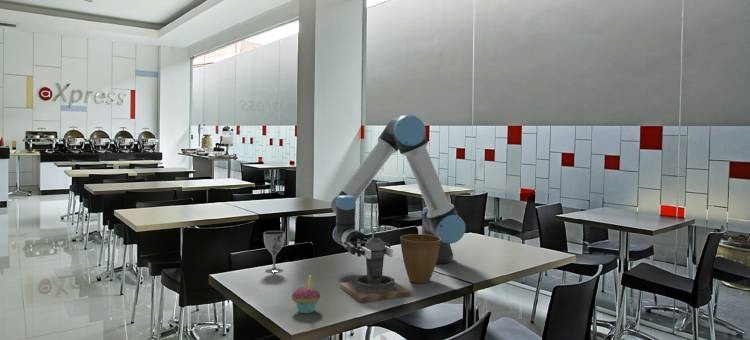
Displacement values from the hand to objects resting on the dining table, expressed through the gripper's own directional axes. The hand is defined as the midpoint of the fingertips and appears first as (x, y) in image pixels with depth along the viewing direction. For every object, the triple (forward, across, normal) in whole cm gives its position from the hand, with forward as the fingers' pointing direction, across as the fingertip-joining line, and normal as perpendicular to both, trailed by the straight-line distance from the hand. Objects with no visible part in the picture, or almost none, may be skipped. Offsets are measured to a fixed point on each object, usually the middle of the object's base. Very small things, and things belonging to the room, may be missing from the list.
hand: (380, 253), depth 172 cm
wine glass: (-45, +25, -14) cm, 53 cm away
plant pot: (-11, -21, -14) cm, 28 cm away
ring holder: (-5, 0, -14) cm, 15 cm away
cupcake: (+5, +27, -14) cm, 31 cm away
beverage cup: (-5, 0, -11) cm, 12 cm away
